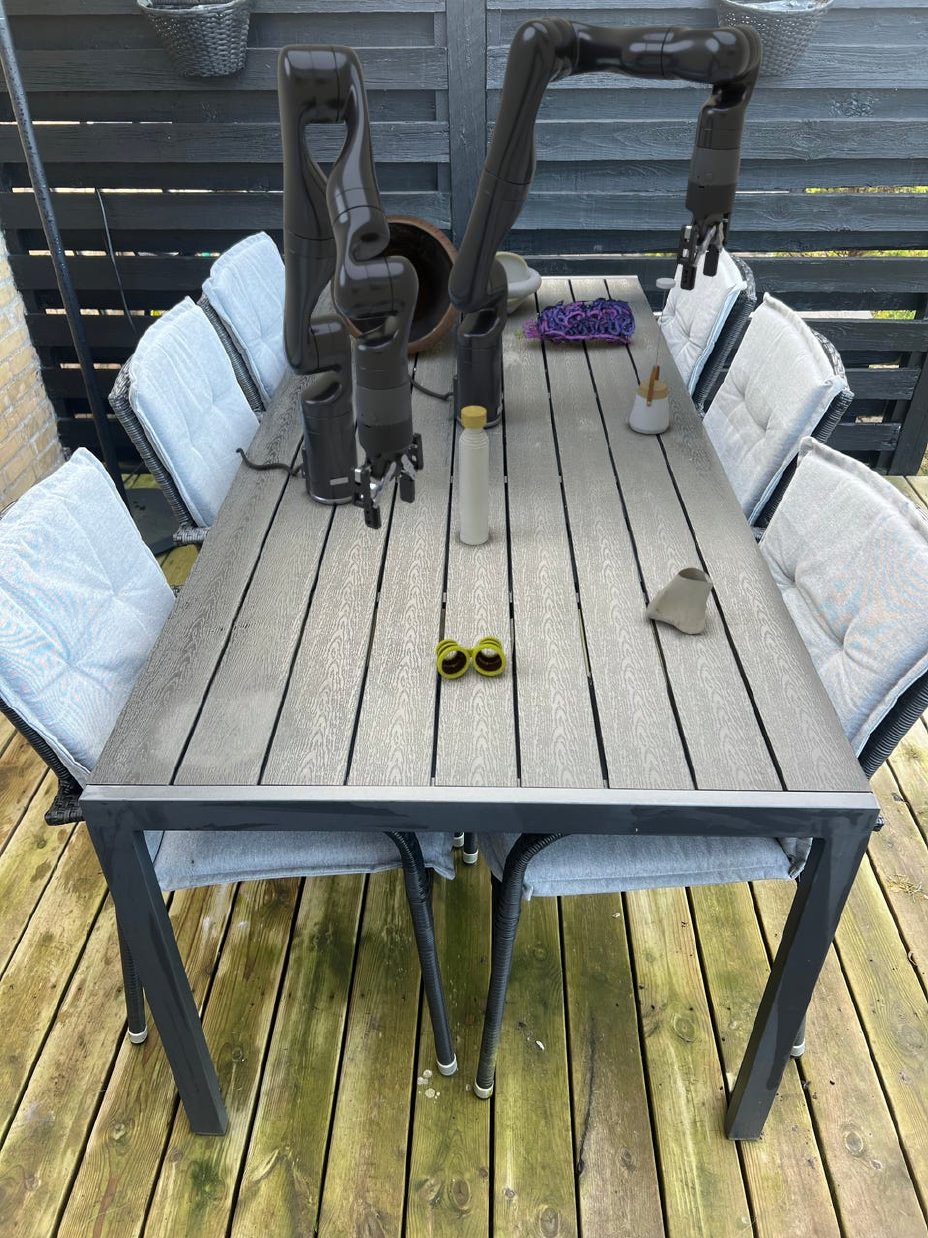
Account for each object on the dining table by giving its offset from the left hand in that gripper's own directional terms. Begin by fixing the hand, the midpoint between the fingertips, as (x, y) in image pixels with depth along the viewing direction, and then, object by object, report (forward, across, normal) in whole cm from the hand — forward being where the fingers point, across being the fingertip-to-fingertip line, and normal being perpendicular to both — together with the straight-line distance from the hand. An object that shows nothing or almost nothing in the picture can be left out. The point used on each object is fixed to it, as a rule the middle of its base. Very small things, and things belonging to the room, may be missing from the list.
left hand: (391, 514), depth 135 cm
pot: (+17, -95, -64) cm, 116 cm away
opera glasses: (+17, +7, +18) cm, 25 cm away
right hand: (-20, -60, +21) cm, 67 cm away
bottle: (+17, -24, 0) cm, 29 cm away
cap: (-6, -24, 0) cm, 24 cm away
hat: (+17, -125, -54) cm, 137 cm away
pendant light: (+17, -79, +9) cm, 82 cm away
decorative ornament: (+17, -112, -25) cm, 116 cm away
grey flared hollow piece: (+17, -19, +39) cm, 46 cm away
